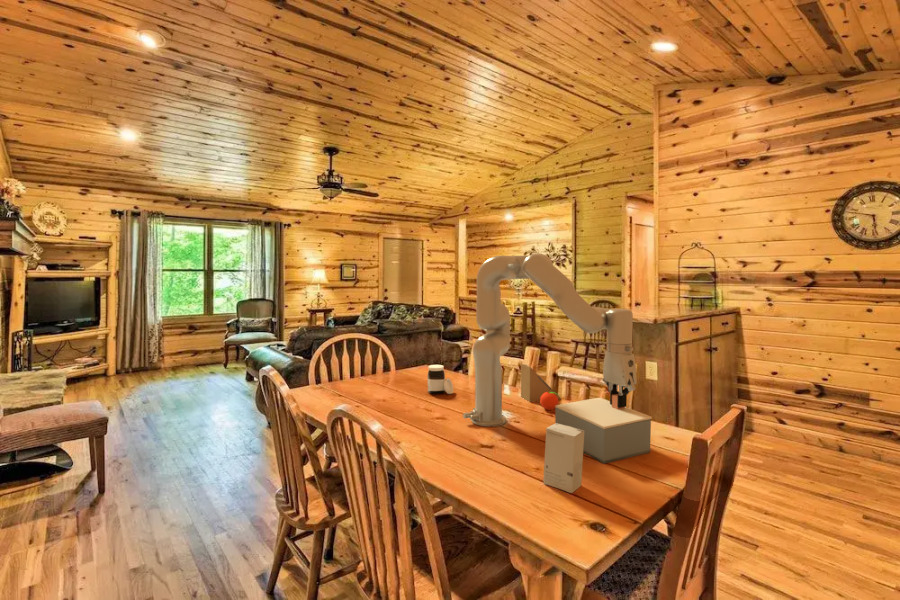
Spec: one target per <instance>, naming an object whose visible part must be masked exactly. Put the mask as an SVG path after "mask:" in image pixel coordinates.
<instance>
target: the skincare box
mask: <svg viewBox="0 0 900 600" xmlns="http://www.w3.org/2000/svg"><path fill="white" fill-rule="evenodd" d="M545 430H546V431H545V444H544V445H545V446H544V447H545V448H544V465H543V484H544V485H545V486H549V487H553V488H556V489H559V490H562V491H564V492H567V493H570V494H573V493H574V492H575V491H576V490H578V489H579V488H580V487H582V481H583V465H584V464H583V461H584V459H583V458H584V453H583V446H584V431H583V430H580V429H576V428H573V427H570V426H565V425H562V424H558V423H554V424H551V425H550V426H547V427H546V429H545Z"/></svg>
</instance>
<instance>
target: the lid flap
mask: <svg viewBox="0 0 900 600" xmlns="http://www.w3.org/2000/svg"><path fill="white" fill-rule="evenodd" d="M618 395H619V394H614V395H612V405H611V404H610V400H608V399H605V398H602V397H595V398H589V399H588V398H587V399H582V400H578V401H577V400H576V401H572V402H567V403H561V404H558V405H555V407H556V408H559V409H561V410H563V411H565V412H568V413H570V414H572V415H574V416H576V417H579V418H581V419H583V420H585V421H588V422H590V423H592V424H594V425H596V426H599V427H601V428H603V429H607V428H611V427H616V426H621V425H625V424H630V423H635V422H639V421H644V420H649V419H650V420H652V419H653V417H652V416H650V415H648V414H646V413H643V412H640V411H638V410H635V409H632V408H629V407H627V406H626V407H621V408H619V407H618V406H617V401H618Z"/></svg>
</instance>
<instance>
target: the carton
mask: <svg viewBox="0 0 900 600" xmlns="http://www.w3.org/2000/svg"><path fill="white" fill-rule="evenodd" d="M554 410H555V411H554V413H555V418H554V419H555V421H554V422H555V423H558V424H562V425H565V426H570V427H573V428H576V429H580V430H583V431H584V446H583V454H585V455H587V456H588V455H589V457H590V458H593V460H596V461H598V462H599V463H601V464H603V465H605V464H609V463H612V462H613V463H614V462H616V461H621V460H626V459H629V457H630V458H633V456H634V457H637V455H638V456H642V455H646V454H649V453H651V438H652V437H651V436H652V435H651V429H652V427H651V426H652V419H649V420H644V421H639V422H635V423H630V424H625V425H621V426H616V427H611V428H607V429H603V428H601V427H599V426H596V425H594V424H592V423H590V422H588V421H585V420H583V419H581V418H579V417H576V416H574V415H572V414H570V413H568V412H565V411H563V410H561V409H559V408H556V407H555V408H554ZM555 423H554V424H555ZM641 454H642V455H641ZM625 458H626V459H625Z"/></svg>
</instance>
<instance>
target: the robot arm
mask: <svg viewBox="0 0 900 600" xmlns="http://www.w3.org/2000/svg"><path fill="white" fill-rule="evenodd" d="M524 279H525V280H526V279H528V280H530V281H532V282H533V283H534V285H536V286H537V287H538V288H539V289H540V290H542V291H543V293H545V294H546V295H547V296H548V297H549V298H550V299H551V300H552V301H553V302H554V304H555V305H556V306H557V307H558V309H560V311H562V313H563V314H564V315H565V316H566V317H567V318H568V319H569V320H570V321H571V322H572V323H573V324H575V325H576V326H577V327H578V328H579V329H580V330H582V331H583V332H586V333H588V334H596V333H599V332H600V331H601V330H606V350H605V352H604V358H603V368H602V370H603V371H602V377H603V378H602V381H603V382H604V384H606V386H607V388H608V392H609V401H610V404H611V405H612V395H614V394H619V395H618V401H617V406H618V407H619V408H621V407H627V403H628V402H627V395H629V393H630V392H632V391H636V385H637V365H636V364H637V363H636V358H635V354H634V353H633V351H634V350H635V349H634V347H633V329H634V328H633V323H634V322H633V320H634V318H633V317H634V314H633V312H632V310H631V309H628V308H605V307H599V306H591V305H590V304H589V303H588V302H587V301H586V300H585V299H584V298H583V297H582V296H581V294H579V293H578V292H577V291H576V288H575V286H574V283H573V282H572V280H571V279H569V278H568V276H566V275H565V274H564V273H563V272H561V271H560V270H559V269H558V268H557V267H556V266H554V263H553V261H552V259H551V258H550V257H549V256H548V255H546V254H543V253H532V254H530V255H496V256H493V257H490V258H489V259H487V260H486V261H484V262H483V263H482V264H481V265H480V267H479V268H478V271H477V274H476V315H475V316H476V320H475V321H476V324H477V326H478V327H479V329H481V330H483V331H485V333H484V334H483V335H481V336H479V337H478V338H477V339H476V340H475V342H474V344H473V346H472V355H473V361H474V376H475V377H474V378H475V379H474V383H475V384H474V385H475V386H474V387H475V388H474V389H475V392H474V394H475V395H474V396H475V401H474V402H475V407H474V408H472V410H471V411H470V412H464V413H463V414H462V417H463V419H470V420H471V422H472V423H473V424H474V425H477V426H479V427H490V428H491V427H498V426H502V425H504V424H506V422H507V417H506V416H505V415H504V414H502V413H503V406H502V405H503V395H502V394H503V385H502V384H503V379H502V378H503V377H502V375H503V374H502V373H503V371H502V363H501V357H502V356H504V355H505V354H507V352H508V351H509V349H510V344H511V343H510V342H511V315H510V314H511V313H510V312H509V309H508V307H507V306H506V305H505V304H503V303H502V302H501V296H502V293H501V287H500V284H501V282H502V281H507V280H524Z"/></svg>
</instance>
